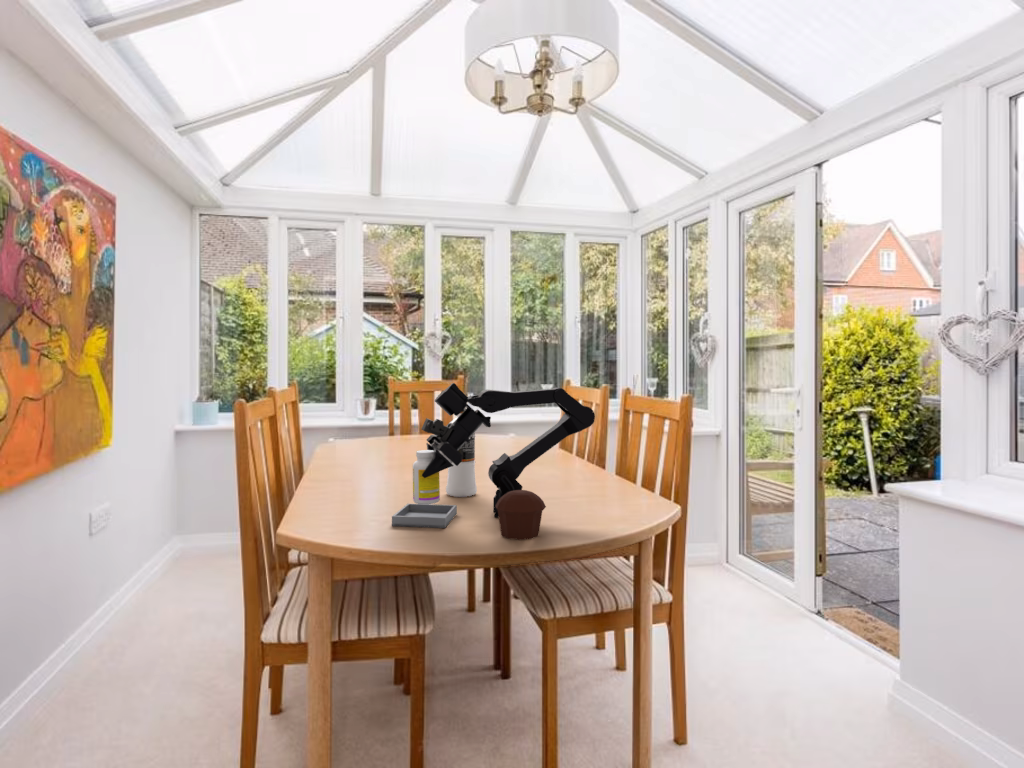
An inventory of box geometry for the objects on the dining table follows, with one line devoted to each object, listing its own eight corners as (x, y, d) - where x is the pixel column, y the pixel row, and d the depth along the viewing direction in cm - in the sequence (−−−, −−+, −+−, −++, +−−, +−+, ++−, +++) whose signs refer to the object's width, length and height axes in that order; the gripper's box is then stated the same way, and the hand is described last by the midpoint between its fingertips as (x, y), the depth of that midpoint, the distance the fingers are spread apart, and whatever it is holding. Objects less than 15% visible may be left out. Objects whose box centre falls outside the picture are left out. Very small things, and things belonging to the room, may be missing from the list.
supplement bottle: (445, 501, 150) (444, 451, 150) (423, 506, 145) (423, 454, 145) (428, 497, 155) (428, 448, 154) (407, 502, 150) (407, 451, 150)
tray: (456, 514, 156) (456, 505, 156) (445, 528, 143) (445, 518, 143) (407, 512, 158) (407, 503, 157) (391, 526, 144) (391, 516, 144)
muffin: (492, 540, 133) (493, 496, 133) (496, 527, 144) (496, 486, 144) (546, 541, 133) (546, 497, 132) (545, 528, 144) (546, 486, 143)
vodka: (458, 489, 186) (458, 393, 185) (482, 493, 181) (483, 394, 180) (439, 495, 178) (439, 395, 177) (464, 499, 173) (464, 396, 172)
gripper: (433, 404, 159) (392, 447, 156) (448, 409, 142) (402, 458, 139) (462, 432, 162) (423, 475, 159) (480, 441, 144) (436, 489, 141)
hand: (420, 474), depth 149 cm, fingers closed on supplement bottle, 7 cm apart
